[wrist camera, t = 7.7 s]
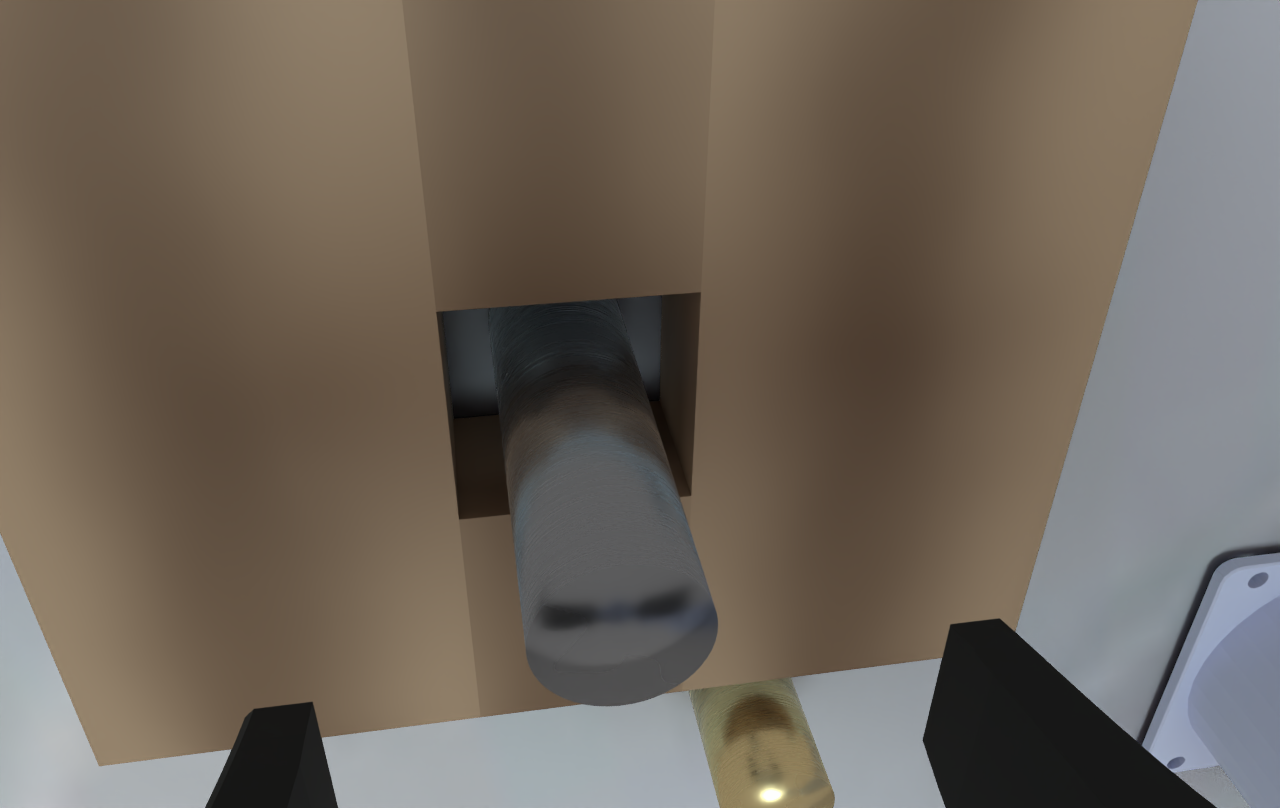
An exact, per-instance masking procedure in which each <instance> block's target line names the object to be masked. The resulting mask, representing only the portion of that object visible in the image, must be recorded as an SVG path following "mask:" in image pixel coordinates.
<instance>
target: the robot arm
mask: <svg viewBox="0 0 1280 808" xmlns="http://www.w3.org/2000/svg"><path fill="white" fill-rule="evenodd" d="M923 742H924V745H925V748H926V751H927V755H928V758H929V761H930V764H931V767H932V770H933V773H934V776H935V779H936V782H937V785H938V788H939V791H940V793H941V796H942V799H943V802H944V804H945V807H946V808H1217V807H1215V806H1214V805H1213V804H1211V803H1210V802H1209V801H1208V800H1206V799H1205V798H1204V797H1203V796H1201V795H1200V794H1199V793H1197V792H1196V791H1195V790H1194V789H1193V788H1191V787H1190V786H1189V785H1188V784H1186V783H1185V782H1184V781H1183V780H1182V779H1180V778H1179V777H1178V776H1177V775H1175V774H1174V773H1175V772H1181V771H1188V770H1195V769H1201V768H1208V767H1215V766H1221V768H1222V769H1223V770H1224V772H1225V773H1226V775H1227V776H1228V777H1229V779H1230V780H1231V781H1232V783H1233V784H1234V785H1235V787H1236V788H1237V790H1238V791H1239V792H1240V794H1241V795H1242V796H1243V798H1244V799H1245V800H1246V802H1247V803H1248V805H1249V806H1250V807H1251V808H1280V553H1274V554H1265V555H1257V556H1248V557H1240V558H1234V559H1230V560H1228V561H1226V562H1224V563H1222V564H1221V565H1220V566H1219V567H1218V568H1217V569H1216V570H1215V572H1214V573H1213V576H1212V578H1211V581H1210V583H1209V585H1208V588H1207V590H1206V593H1205V595H1204V597H1203V600H1202V602H1201V605H1200V607H1199V609H1198V612H1197V614H1196V617H1195V619H1194V621H1193V624H1192V626H1191V628H1190V631H1189V633H1188V636H1187V638H1186V640H1185V643H1184V645H1183V648H1182V650H1181V652H1180V655H1179V657H1178V660H1177V662H1176V664H1175V667H1174V669H1173V672H1172V674H1171V676H1170V679H1169V681H1168V684H1167V686H1166V688H1165V691H1164V693H1163V696H1162V698H1161V700H1160V703H1159V705H1158V708H1157V710H1156V712H1155V715H1154V717H1153V720H1152V722H1151V724H1150V727H1149V729H1148V732H1147V734H1146V736H1145V739H1144V741H1143V744H1142V746H1141V745H1140V744H1139V743H1138V742H1137V741H1136V740H1134V739H1133V738H1132V737H1131V736H1130V735H1129V734H1127V733H1126V732H1125V731H1124V730H1123V729H1122V728H1121V727H1119V726H1118V725H1117V724H1116V723H1115V722H1114V721H1113V720H1111V719H1110V718H1109V717H1108V716H1107V715H1106V714H1105V713H1104V712H1102V711H1101V710H1100V709H1099V708H1098V707H1097V706H1096V705H1095V704H1094V703H1092V702H1091V701H1090V700H1089V699H1088V698H1087V697H1086V696H1085V695H1084V694H1083V693H1081V692H1080V691H1079V690H1078V689H1077V688H1076V687H1075V686H1074V685H1073V684H1071V683H1070V682H1069V681H1068V680H1067V679H1066V678H1065V677H1064V676H1063V675H1062V674H1060V673H1059V672H1058V671H1057V670H1056V669H1055V668H1054V667H1053V666H1052V665H1051V664H1050V663H1048V662H1047V661H1046V660H1045V659H1044V658H1043V657H1042V656H1041V655H1040V654H1039V653H1038V652H1036V651H1035V650H1034V649H1033V648H1032V647H1031V646H1030V645H1029V644H1028V643H1027V642H1025V641H1024V640H1023V639H1022V638H1021V637H1020V636H1019V635H1018V634H1017V633H1016V632H1015V631H1013V630H1012V629H1011V628H1010V627H1009V626H1008V625H1007V624H1006V623H1005V622H1003V621H1002V620H1001V619H1000V618H997V619H989V620H981V621H972V622H964V623H956V624H950V628H949V632H948V636H947V640H946V645H945V649H944V653H943V657H942V661H941V665H940V670H939V674H938V678H937V682H936V686H935V691H934V695H933V699H932V703H931V707H930V711H929V716H928V720H927V724H926V728H925V732H924V737H923ZM205 808H338V806H337V802H336V797H335V793H334V789H333V785H332V780H331V776H330V772H329V768H328V764H327V759H326V755H325V751H324V747H323V742H322V738H321V734H320V730H319V726H318V721H317V717H316V713H315V709H314V705H313V702H305V703H297V704H289V705H281V706H273V707H264V708H256V709H253V710H252V711H251V712H250V713H249V714H248V715H247V716H246V717H245V718H244V721H243V723H242V726H241V728H240V731H239V733H238V736H237V738H236V741H235V743H234V745H233V748H232V750H231V752H230V755H229V757H228V759H227V762H226V764H225V766H224V768H223V771H222V773H221V775H220V777H219V779H218V782H217V784H216V786H215V788H214V790H213V792H212V794H211V797H210V799H209V801H208V803H207V805H206V807H205Z"/></svg>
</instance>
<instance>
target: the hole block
mask: <svg viewBox="0 0 1280 808" xmlns="http://www.w3.org/2000/svg"><path fill="white" fill-rule="evenodd" d="M1197 1H1198V0H0V534H1V536H2V538H3V541H4V543H5V545H6V548H7V550H8V552H9V555H10V557H11V560H12V562H13V564H14V567H15V569H16V571H17V574H18V576H19V578H20V581H21V583H22V585H23V588H24V590H25V593H26V595H27V597H28V600H29V602H30V604H31V607H32V609H33V611H34V614H35V616H36V619H37V621H38V623H39V626H40V628H41V630H42V633H43V635H44V637H45V640H46V642H47V644H48V647H49V649H50V652H51V654H52V656H53V659H54V661H55V663H56V666H57V668H58V670H59V673H60V675H61V677H62V680H63V682H64V685H65V687H66V689H67V692H68V694H69V696H70V699H71V701H72V703H73V706H74V708H75V710H76V713H77V715H78V718H79V720H80V722H81V725H82V727H83V729H84V732H85V734H86V736H87V739H88V741H89V743H90V746H91V748H92V751H93V753H94V755H95V758H96V760H97V762H98V765H99V766H104V765H112V764H120V763H128V762H136V761H143V760H151V759H159V758H167V757H174V756H182V755H190V754H198V753H206V752H213V751H221V750H229V749H232V748H233V745H234V743H235V741H236V738H237V736H238V733H239V731H240V728H241V726H242V723H243V721H244V718H245V717H246V716H247V715H248V714H249V713H250V712H251V711H252V710H253V709H256V708H264V707H273V706H281V705H289V704H297V703H305V702H313V705H314V709H315V713H316V717H317V721H318V726H319V730H320V734H321V738H322V737H330V736H338V735H346V734H353V733H361V732H369V731H377V730H384V729H392V728H400V727H408V726H416V725H423V724H431V723H439V722H447V721H454V720H462V719H470V718H478V717H486V716H493V715H501V714H509V713H517V712H524V711H532V710H540V709H548V708H556V707H563V706H571V705H579V704H581V703H576V702H573V701H570V700H567V699H564V698H562V697H560V696H558V695H556V694H554V693H553V692H551V691H550V690H548V689H547V688H545V687H544V686H543V685H542V684H541V683H540V682H539V681H538V680H537V678H536V677H535V676H534V674H533V673H532V671H531V669H530V667H529V664H528V661H527V658H526V649H525V640H524V631H523V622H522V613H521V605H520V596H519V587H518V578H517V569H516V561H515V552H514V543H513V534H512V525H511V516H510V508H509V499H508V490H507V481H506V472H505V463H504V455H503V446H502V437H501V428H500V419H499V415H491V416H480V417H469V418H457V419H454V417H453V408H452V399H451V389H450V380H449V370H448V361H447V351H446V342H445V332H444V323H443V313H442V311H453V310H467V309H480V308H494V307H507V306H521V305H535V304H548V303H562V302H575V301H589V300H602V299H616V298H630V297H643V296H657V295H662V322H661V362H660V401H650V402H649V403H650V406H651V409H652V412H653V415H654V418H655V422H656V425H657V428H658V431H659V434H660V437H661V440H662V443H663V447H664V450H665V453H666V456H667V459H668V462H669V465H670V468H671V472H672V475H673V478H674V481H675V484H676V487H677V490H678V493H679V497H680V500H681V503H682V506H683V509H684V512H685V515H686V518H687V522H688V525H689V528H690V531H691V534H692V537H693V540H694V543H695V547H696V550H697V553H698V556H699V559H700V562H701V565H702V568H703V571H704V575H705V578H706V581H707V584H708V587H709V590H710V593H711V596H712V600H713V603H714V606H715V609H716V612H717V617H718V633H717V637H716V641H715V644H714V646H713V649H712V651H711V652H710V654H709V656H708V658H707V659H706V660H705V662H704V663H703V664H702V666H701V667H700V668H699V669H698V670H697V671H696V672H695V673H694V674H693V675H691V676H690V677H689V678H688V679H687V680H685V681H684V682H682V683H681V684H679V685H678V686H676V687H675V688H673V689H671V690H669V691H667V692H666V693H672V692H680V691H688V690H696V689H703V688H711V687H719V686H727V685H734V684H742V683H750V682H758V681H766V680H773V679H781V678H789V677H797V676H804V675H812V674H820V673H828V672H836V671H843V670H851V669H859V668H867V667H874V666H882V665H890V664H898V663H906V662H913V661H921V660H929V659H937V658H942V657H943V653H944V649H945V645H946V640H947V636H948V632H949V628H950V624H956V623H964V622H972V621H981V620H989V619H997V618H1000V619H1001V620H1002V621H1003V622H1005V623H1006V624H1007V625H1008V626H1009V627H1010V628H1011V629H1012V630H1013V631H1015V630H1016V627H1017V623H1018V620H1019V616H1020V613H1021V610H1022V606H1023V603H1024V599H1025V596H1026V592H1027V589H1028V585H1029V582H1030V578H1031V575H1032V572H1033V568H1034V565H1035V561H1036V558H1037V554H1038V551H1039V547H1040V544H1041V540H1042V537H1043V534H1044V530H1045V527H1046V523H1047V520H1048V516H1049V513H1050V509H1051V506H1052V502H1053V499H1054V496H1055V492H1056V489H1057V485H1058V482H1059V478H1060V475H1061V471H1062V468H1063V464H1064V461H1065V458H1066V454H1067V451H1068V447H1069V444H1070V440H1071V437H1072V433H1073V430H1074V426H1075V423H1076V420H1077V416H1078V413H1079V409H1080V406H1081V402H1082V399H1083V395H1084V392H1085V388H1086V385H1087V382H1088V378H1089V375H1090V371H1091V368H1092V364H1093V361H1094V357H1095V354H1096V350H1097V347H1098V344H1099V340H1100V337H1101V333H1102V330H1103V326H1104V323H1105V319H1106V316H1107V312H1108V309H1109V305H1110V302H1111V299H1112V295H1113V292H1114V288H1115V285H1116V281H1117V278H1118V274H1119V271H1120V267H1121V264H1122V261H1123V257H1124V254H1125V250H1126V247H1127V243H1128V240H1129V236H1130V233H1131V229H1132V226H1133V223H1134V219H1135V216H1136V212H1137V209H1138V205H1139V202H1140V198H1141V195H1142V191H1143V188H1144V185H1145V181H1146V178H1147V174H1148V171H1149V167H1150V164H1151V160H1152V157H1153V153H1154V150H1155V147H1156V143H1157V140H1158V136H1159V133H1160V129H1161V126H1162V122H1163V119H1164V115H1165V112H1166V109H1167V105H1168V102H1169V98H1170V95H1171V91H1172V88H1173V84H1174V81H1175V77H1176V74H1177V71H1178V67H1179V64H1180V60H1181V57H1182V53H1183V50H1184V46H1185V43H1186V39H1187V36H1188V32H1189V29H1190V26H1191V22H1192V19H1193V15H1194V12H1195V8H1196V5H1197ZM663 694H664V693H663Z"/></svg>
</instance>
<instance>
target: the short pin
mask: <svg viewBox="0 0 1280 808" xmlns="http://www.w3.org/2000/svg"><path fill="white" fill-rule="evenodd" d="M689 694H690V697H691V701H692V705H693V709H694V712H695V716H696V720H697V724H698V727H699V731H700V735H701V739H702V742H703V746H704V750H705V754H706V757H707V761H708V765H709V769H710V772H711V776H712V780H713V784H714V787H715V791H716V795H717V799H718V802H719V806H720V808H833V806H834V801H835V797H834V792H833V790H832V787H831V784H830V782H829V779H828V776H827V774H826V771H825V768H824V766H823V763H822V760H821V757H820V755H819V752H818V749H817V747H816V744H815V741H814V739H813V736H812V733H811V731H810V728H809V725H808V723H807V720H806V717H805V714H804V712H803V709H802V706H801V704H800V701H799V698H798V696H797V693H796V690H795V688H794V685H793V682H792V679H791V677H789V678H781V679H773V680H766V681H758V682H750V683H742V684H734V685H727V686H719V687H711V688H703V689H696V690H689Z"/></svg>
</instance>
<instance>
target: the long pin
mask: <svg viewBox="0 0 1280 808" xmlns="http://www.w3.org/2000/svg"><path fill="white" fill-rule="evenodd" d="M489 331H490V340H491V349H492V358H493V366H494V375H495V384H496V393H497V402H498V410H499V419H500V428H501V437H502V446H503V455H504V463H505V472H506V481H507V490H508V499H509V508H510V516H511V525H512V534H513V543H514V552H515V561H516V569H517V578H518V587H519V596H520V605H521V613H522V622H523V631H524V640H525V649H526V658H527V661H528V664H529V667H530V669H531V671H532V673H533V674H534V676H535V677H536V678H537V680H538V681H539V682H540V683H541V684H542V685H543V686H544V687H545V688H547V689H548V690H550V691H551V692H553V693H554V694H556V695H558V696H560V697H562V698H564V699H567V700H570V701H573V702H576V703H581V704H585V705H593V706H620V705H626V704H633V703H637V702H641V701H645V700H648V699H651V698H654V697H656V696H659V695H661V694H663V693H666V692H667V691H669V690H671V689H673V688H675V687H676V686H678V685H679V684H681V683H682V682H684V681H685V680H687V679H688V678H689V677H690V676H691V675H693V674H694V673H695V672H696V671H697V670H698V669H699V668H700V667H701V666H702V664H703V663H704V662H705V660H706V659H707V658H708V656H709V654H710V652H711V651H712V649H713V646H714V644H715V641H716V637H717V633H718V617H717V612H716V609H715V606H714V603H713V600H712V596H711V593H710V590H709V587H708V584H707V581H706V578H705V575H704V571H703V568H702V565H701V562H700V559H699V556H698V553H697V550H696V547H695V543H694V540H693V537H692V534H691V531H690V528H689V525H688V522H687V518H686V515H685V512H684V509H683V506H682V503H681V500H680V497H679V493H678V490H677V487H676V484H675V481H674V478H673V475H672V472H671V468H670V465H669V462H668V459H667V456H666V453H665V450H664V447H663V443H662V440H661V437H660V434H659V431H658V428H657V425H656V422H655V418H654V415H653V412H652V409H651V406H650V403H649V400H648V397H647V393H646V390H645V387H644V384H643V381H642V378H641V375H640V372H639V368H638V365H637V362H636V359H635V356H634V353H633V350H632V347H631V344H630V340H629V337H628V334H627V331H626V328H625V325H624V322H623V319H622V315H621V312H620V309H619V306H618V303H617V300H616V299H602V300H589V301H575V302H562V303H548V304H535V305H521V306H507V307H494V308H490V313H489Z"/></svg>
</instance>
